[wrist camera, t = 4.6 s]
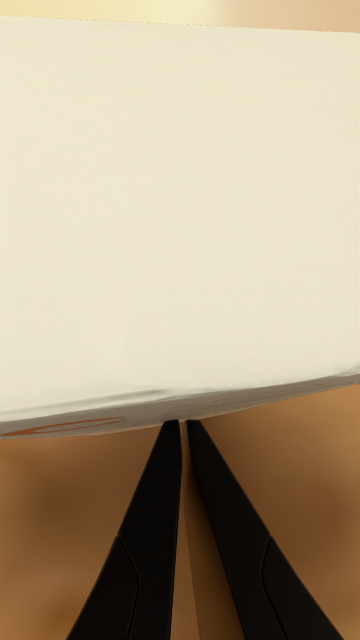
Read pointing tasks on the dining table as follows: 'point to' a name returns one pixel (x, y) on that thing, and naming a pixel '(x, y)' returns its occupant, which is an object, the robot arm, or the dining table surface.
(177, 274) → the small box
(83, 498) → the dining table surface
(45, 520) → the dining table surface
